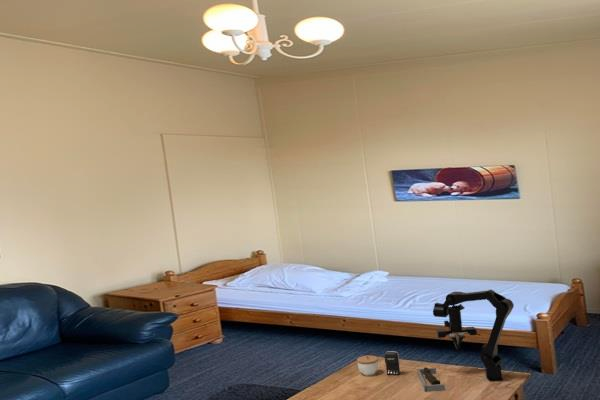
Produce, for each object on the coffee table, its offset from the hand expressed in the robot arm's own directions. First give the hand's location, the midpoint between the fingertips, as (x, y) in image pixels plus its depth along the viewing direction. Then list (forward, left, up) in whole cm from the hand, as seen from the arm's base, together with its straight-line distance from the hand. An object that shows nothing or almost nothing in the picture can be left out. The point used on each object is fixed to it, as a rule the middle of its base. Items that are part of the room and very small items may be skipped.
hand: (457, 349), depth 287 cm
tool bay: (+15, +8, -12) cm, 21 cm away
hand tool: (+16, +7, -12) cm, 21 cm away
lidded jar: (+44, -10, -12) cm, 47 cm away
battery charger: (+32, -6, -12) cm, 35 cm away
